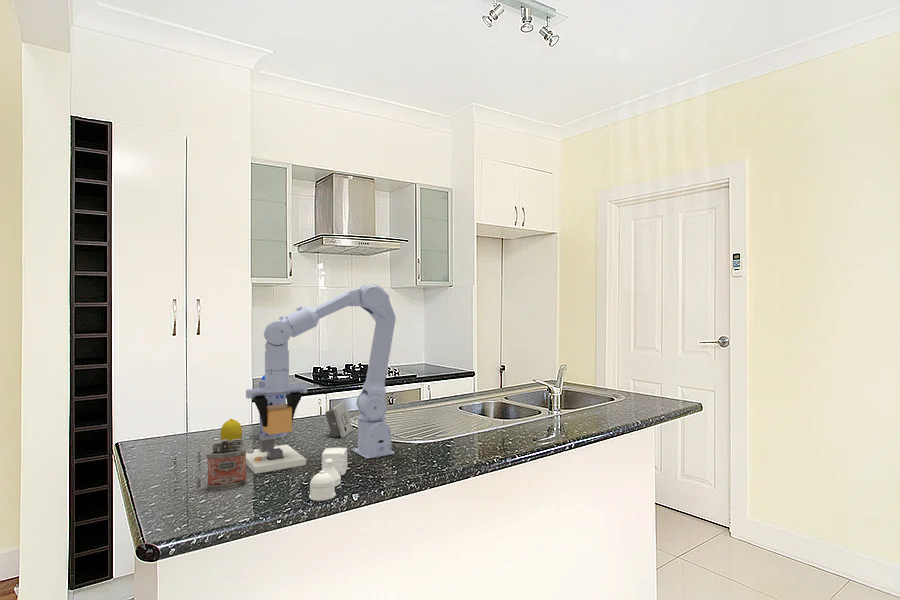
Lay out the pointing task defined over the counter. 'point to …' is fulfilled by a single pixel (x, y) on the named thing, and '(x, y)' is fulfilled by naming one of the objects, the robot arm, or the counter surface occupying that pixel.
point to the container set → (329, 474)
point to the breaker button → (274, 454)
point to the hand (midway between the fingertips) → (277, 424)
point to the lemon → (231, 430)
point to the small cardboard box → (278, 419)
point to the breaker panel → (261, 464)
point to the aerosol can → (271, 401)
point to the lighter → (226, 465)
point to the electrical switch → (339, 420)
